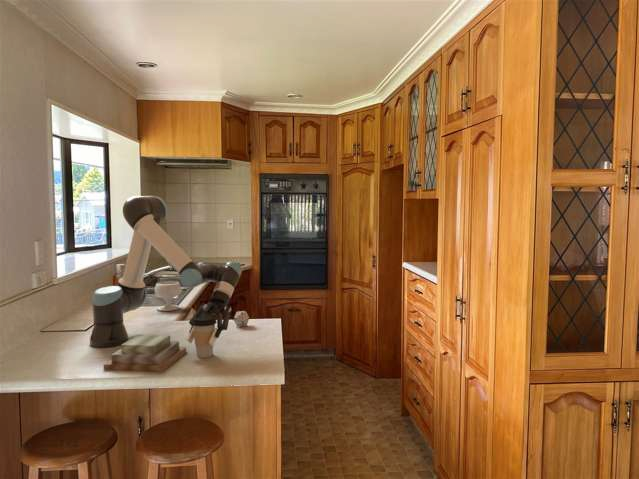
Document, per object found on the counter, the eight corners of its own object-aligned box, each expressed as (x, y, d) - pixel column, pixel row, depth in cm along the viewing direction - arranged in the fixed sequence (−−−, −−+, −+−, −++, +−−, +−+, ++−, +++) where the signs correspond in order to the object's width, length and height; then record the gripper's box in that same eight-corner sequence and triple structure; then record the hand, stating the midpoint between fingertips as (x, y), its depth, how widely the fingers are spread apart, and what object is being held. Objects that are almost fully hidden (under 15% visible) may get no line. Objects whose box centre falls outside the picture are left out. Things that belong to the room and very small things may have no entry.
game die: (244, 335, 224) (245, 322, 217) (228, 328, 225) (229, 314, 218) (252, 322, 230) (254, 309, 224) (237, 315, 232) (238, 302, 225)
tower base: (103, 369, 168) (102, 348, 167) (134, 350, 190) (133, 331, 189) (161, 372, 166) (161, 350, 165) (186, 352, 187) (185, 332, 187)
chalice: (150, 309, 260) (149, 282, 259) (172, 305, 271) (171, 279, 270) (164, 313, 251) (163, 285, 250) (186, 308, 262) (185, 282, 261)
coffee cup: (195, 351, 188) (194, 315, 186) (218, 351, 189) (217, 314, 187) (190, 359, 178) (189, 321, 177) (215, 358, 179) (214, 320, 178)
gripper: (248, 301, 192) (228, 350, 179) (203, 297, 200) (180, 344, 187) (241, 291, 187) (220, 341, 173) (195, 287, 195) (171, 335, 181)
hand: (199, 343), depth 180 cm, fingers closed on coffee cup, 9 cm apart
